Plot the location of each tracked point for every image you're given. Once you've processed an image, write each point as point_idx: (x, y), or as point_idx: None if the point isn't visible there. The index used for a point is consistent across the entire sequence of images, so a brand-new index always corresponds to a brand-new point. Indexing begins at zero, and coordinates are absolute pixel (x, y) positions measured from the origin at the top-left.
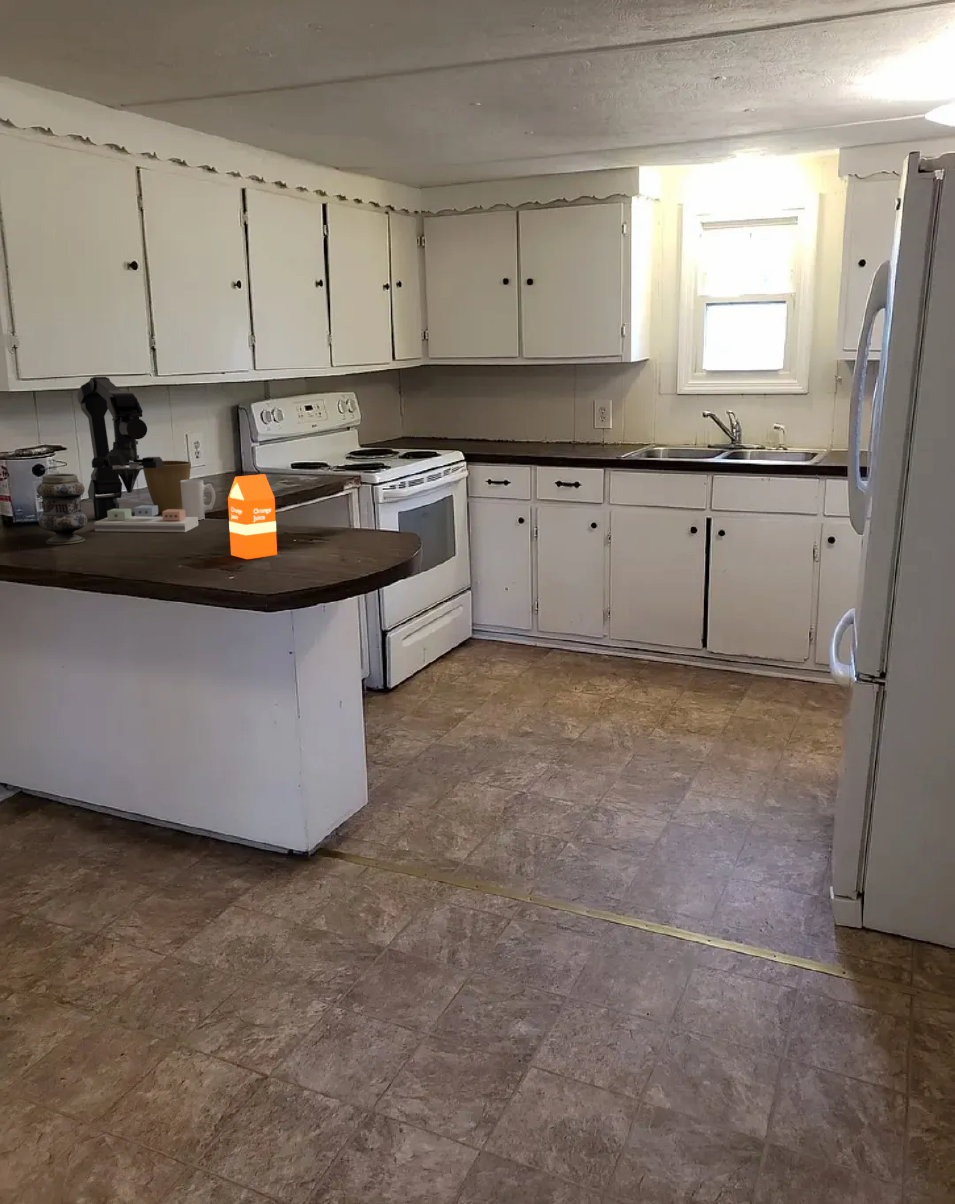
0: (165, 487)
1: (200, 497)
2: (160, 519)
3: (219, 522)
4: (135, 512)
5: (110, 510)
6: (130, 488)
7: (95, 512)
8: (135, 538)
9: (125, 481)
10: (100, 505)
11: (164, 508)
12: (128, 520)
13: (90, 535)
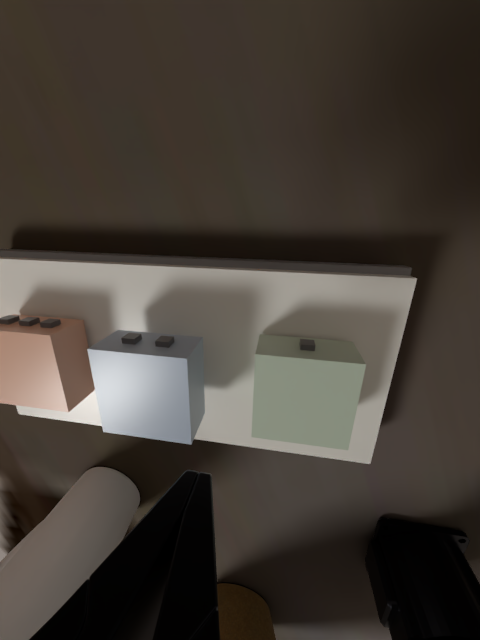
0: None
1: (11, 558)
2: None
3: (18, 440)
4: (192, 345)
5: (351, 389)
6: (163, 497)
7: (468, 572)
8: (120, 47)
9: (175, 601)
10: (459, 599)
11: (233, 603)
12: (246, 340)
13: (393, 127)
